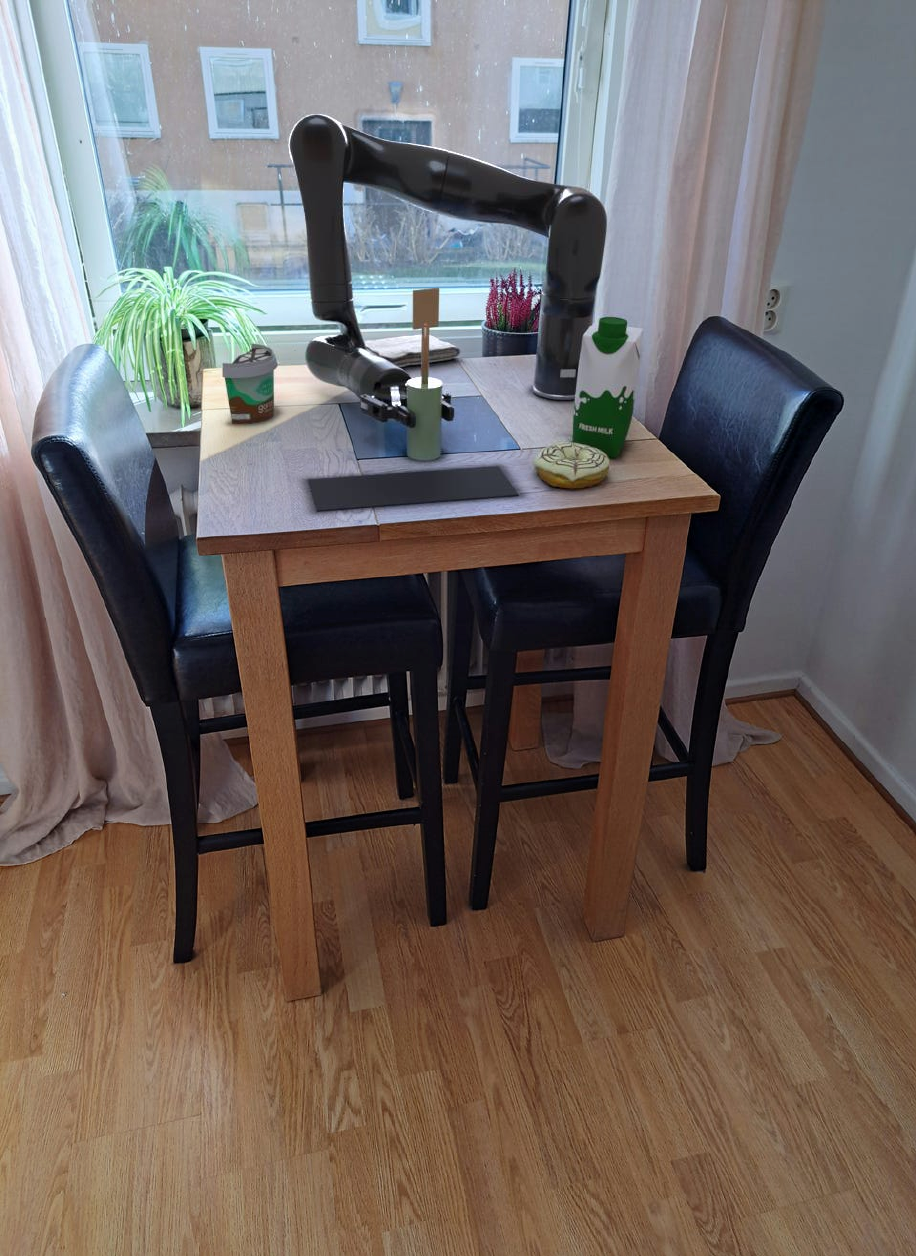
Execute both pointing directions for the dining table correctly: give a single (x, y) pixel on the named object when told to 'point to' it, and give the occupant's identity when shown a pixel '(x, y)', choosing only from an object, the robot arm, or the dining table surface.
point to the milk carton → (607, 384)
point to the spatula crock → (425, 384)
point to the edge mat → (410, 488)
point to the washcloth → (411, 350)
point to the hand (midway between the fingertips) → (432, 418)
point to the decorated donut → (571, 465)
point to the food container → (251, 385)
